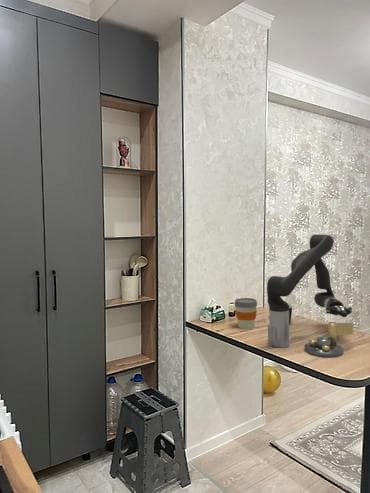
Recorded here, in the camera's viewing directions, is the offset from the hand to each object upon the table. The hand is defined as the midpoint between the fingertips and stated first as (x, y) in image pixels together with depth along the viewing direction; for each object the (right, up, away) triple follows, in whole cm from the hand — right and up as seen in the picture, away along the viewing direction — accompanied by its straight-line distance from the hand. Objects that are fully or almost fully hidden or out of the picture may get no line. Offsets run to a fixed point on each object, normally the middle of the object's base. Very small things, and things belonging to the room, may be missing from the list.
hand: (345, 315), depth 183 cm
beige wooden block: (-3, -14, -2) cm, 14 cm away
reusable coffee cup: (-40, -14, +39) cm, 58 cm away
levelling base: (-11, -16, -3) cm, 20 cm away
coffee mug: (-17, -13, +44) cm, 48 cm away
